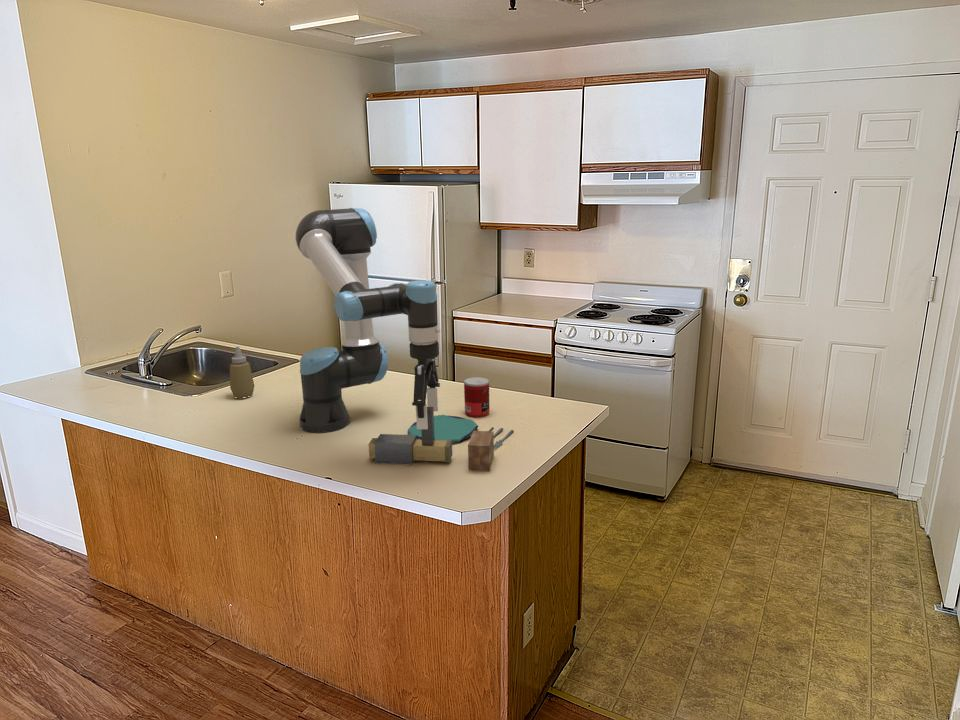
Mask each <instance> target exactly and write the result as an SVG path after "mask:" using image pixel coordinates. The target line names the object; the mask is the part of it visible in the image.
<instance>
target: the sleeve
mask: <svg viewBox="0 0 960 720" xmlns="http://www.w3.org/2000/svg"><path fill="white" fill-rule="evenodd" d="M376 438H377V440H376V441H375V442H374V444H375V459H374V460H375V464H382V463H383V464H387V465H410V466H412V465H413V464H414V462H415V460H412V444H413V442H414V440H417V438H416V435H408V434H397V433H396V434H391V433H380V434H379V435H378V437H376Z"/></svg>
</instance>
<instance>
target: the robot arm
mask: <svg viewBox="0 0 960 720" xmlns="http://www.w3.org/2000/svg"><path fill="white" fill-rule="evenodd" d="M377 237H378V233H377V228H376V224H375V221H374V219H373V217H372V216H371V214H370V212H369V211H368V210H366V209H364V208H357V207H355V208H353V207H350V208H349V207H348V208H338V209H337V208H336V209H318V210H314V211H312V212H310V213H307V214H306V215H305V216H304V217H302V219H301V220H299V222H298V225H297V227H296V231H295V243H296V246H297V248H298V250H299V252H300V253H301V255H302V256H304V257H305V258H307V259H309V260H310V261H311V262H312V264H313V266H314V267H315V268H316V270H317V271H318V273H319V274H320V276H321V277H322V278H323V280H324V281H325V282H326V284H327V286H328V287H329V288H330V290H331V292H332V293H333V294H334V296H335V297H334V300H333V301H334V302H333V306H334V310H335V312H336V313H335V314H336V316H337V318H338V319H339V320H340V321H342V322H344V323H343V324H344V325H343V326H344V331H345V332H344V334H345V339H344V340H343V341H341V342H342V343H341V350H339V349H338V347H335V346H327V347H325V346H324V347H322V346H321V347H318V348H314V349H312V350H309V351H307V352H305V353H304V354H303V355H301V357H300V360H299V374H300V380H301V389H302V399H303V402H302V406H301V411H300V414H299V422H298V423H299V427H301V428H302V429H303V430H302V429H301V428H300V429H301V430H302V431H305V430H306V431H305V432H308V431H310V433H328V432H335V431H338V430H341V429H344V428H345V427H347V426H349V424H350V414H349V412H348V410H347V409H348V408H347V406H346V404H345V402H344V399H343V394H342V390H343V389H346V388H347V389H348V388H351V387H357V386H363V385H366V384H368V385H370V384H372V383H376V382H380V381H382V380H383V379H384V377H385V376H386V374H387V372H388V366H389V357H388V353H387V350H386V348H385V346H384V345H383V344H380V340H379V339H378V338H377V337H376V336H375V334H374V326H373V319H375V318H380V317H381V318H382V317H388V316H389V317H390V316H395V315H406V316H407V322H408V323H407V324H408V325H407V326H408V328H407V329H408V341H409V342H410V343H409V345H408V346H409V356H410V357H411V359H413V360H414V359H415V360H417V364H416V365H415V366H414V367H413V368H414V383H413V384H414V385H413V388H414V389H413V402H412V401H411V406H413V407H414V406H415V418H416V419H415V420H416V421H415V422H417V429H428V421H427V407H433V410H434V412H438V411H439V404H438V403H439V401H438V388H440V387H441V383H440V382H439V377H438V370H437V365H436V364H437V363H436V358H437V357H439V355H440V344H439V341H438V340H439V333H440V332H441V329H440V328H438V326H439V325H438V323H439V322H438V321H439V320H438V317H439V316H438V294H437V285H436V284H435V282H434V281H433V280H424V279H423V280H418V279H417V280H412V281H409V282H407V283H398V282H395V283H392V284H390V285H388V286H384V287H382V286H381V287H374V288H370V282H369V273H368V261H367V259H368V257H369V256H370V255H371V253H372V251H371V249H372V248H371V247H373V246H375V245H376V243H377V239H378V238H377Z"/></svg>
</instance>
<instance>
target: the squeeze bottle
mask: <svg viewBox="0 0 960 720" xmlns="http://www.w3.org/2000/svg"><path fill="white" fill-rule="evenodd" d="M241 350H242V349H241V347H240V346H235V352H234V356H233V357H231V364H230V365H229V385H230V387H229V388H230V390H231V393H232V395H233V397H234V398H235V397H237V398H243V397H248V396H251V395H252V394H254V390H255V383H254V379H253V374H252V373H253V372H252V368H251V364H250V362H248V361H247V356H245V355H243V353H242V351H241ZM252 396H253V395H252ZM252 396H251V397H252ZM237 398H236V399H237Z"/></svg>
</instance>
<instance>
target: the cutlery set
mask: <svg viewBox="0 0 960 720" xmlns="http://www.w3.org/2000/svg"><path fill="white" fill-rule="evenodd" d="M478 427H479V425H478V424H477V423H476V422H475V421H474V420H473V419H470V418H465V417H461V416H457V415H446V414H437V415H434V434H435V440H445V441H447V440H452V444H458V443H459V442H460V441H462V440H465V439H467V438H469V437H471V436H472V433H473V431H477V429H478ZM492 430H495V429H494V427H493V426H491V427H490V429H489V430H488V431H492ZM503 431H504V428H503V427H500V428H499V429H498V430H496V432H495V433H494V438H495V437H497V436H498V435H499V434H500V433H501V432H503ZM512 434H514V429H510V430H509V431H508V432H507V434H506V435H504V437H503V438H502V439H498V441H495V443H494V452H495V451H496V450H498V449H499V448H500V447H501V446H503V442H504V440H505V439H506V440H507V439H508V438H510V436H511V435H512ZM407 435H416V439H417V440H422V434H421V429H417V422H416V421H415V422H413V423H412V424H411V425H410V427H409V428H408V429H407ZM506 440H505V441H506Z"/></svg>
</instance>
